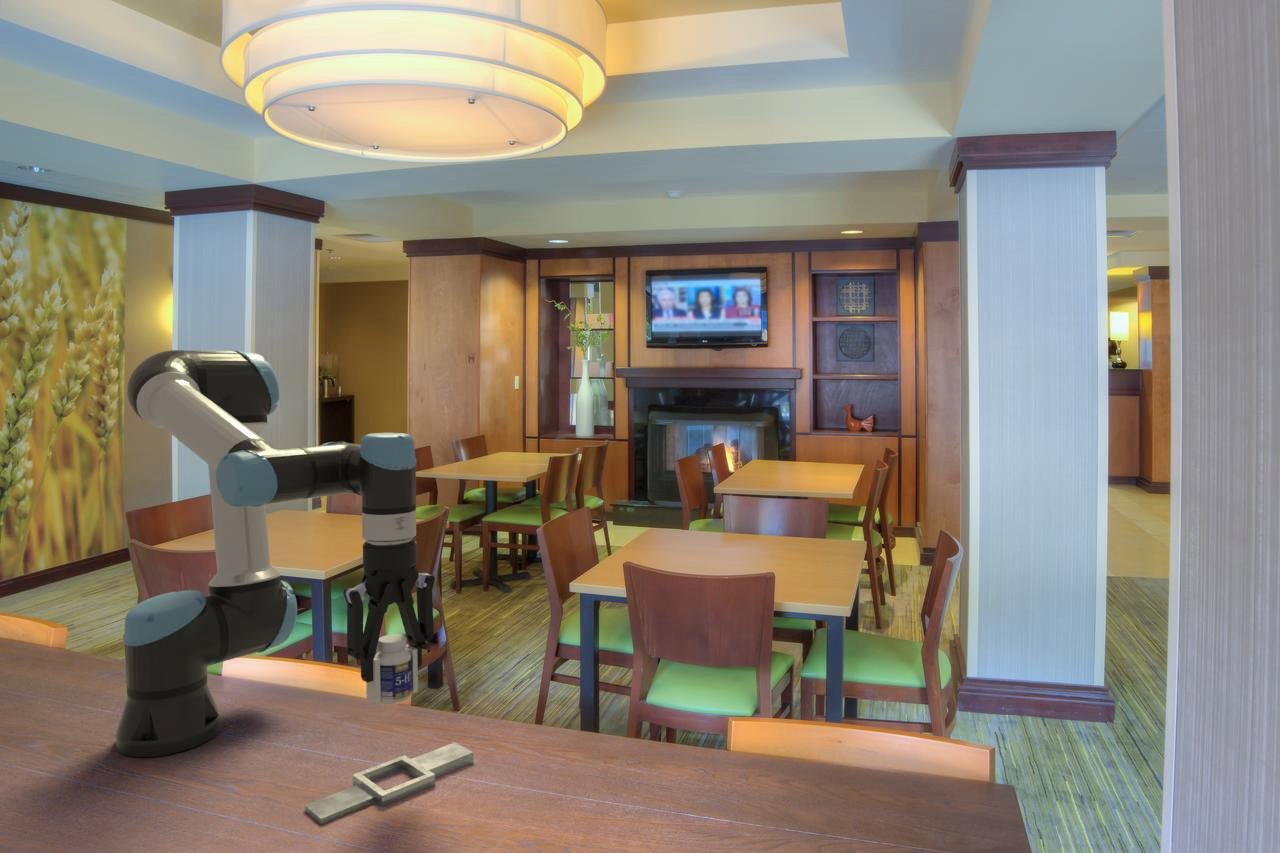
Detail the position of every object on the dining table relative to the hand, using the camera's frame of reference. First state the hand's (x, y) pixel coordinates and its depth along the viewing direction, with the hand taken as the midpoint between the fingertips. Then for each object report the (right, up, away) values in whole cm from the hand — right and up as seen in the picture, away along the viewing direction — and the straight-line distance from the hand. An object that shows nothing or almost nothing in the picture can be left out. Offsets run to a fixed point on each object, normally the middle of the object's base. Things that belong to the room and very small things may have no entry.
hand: (392, 695), depth 121 cm
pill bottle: (0, -1, 0) cm, 1 cm away
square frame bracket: (0, -14, +1) cm, 14 cm away
